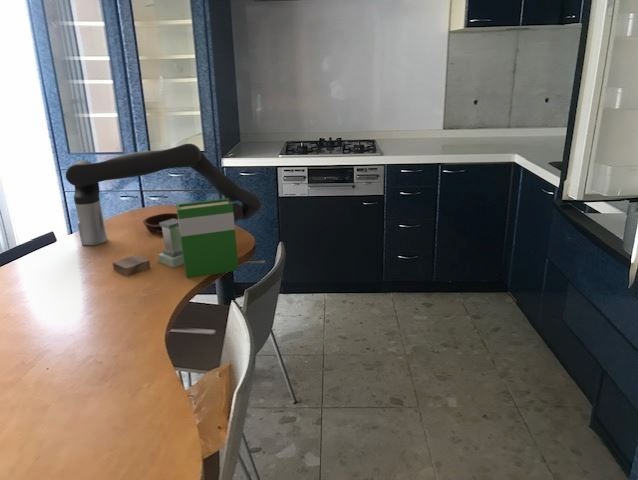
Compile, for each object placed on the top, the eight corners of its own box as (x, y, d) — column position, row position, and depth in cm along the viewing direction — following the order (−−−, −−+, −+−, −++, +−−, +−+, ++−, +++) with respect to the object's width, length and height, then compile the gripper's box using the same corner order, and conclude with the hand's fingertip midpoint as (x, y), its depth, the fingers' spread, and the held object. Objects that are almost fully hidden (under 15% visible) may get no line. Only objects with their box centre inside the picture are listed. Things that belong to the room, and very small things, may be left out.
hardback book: (235, 262, 183) (228, 198, 174) (238, 270, 176) (232, 203, 168) (185, 270, 178) (176, 204, 169) (186, 278, 171) (177, 210, 163)
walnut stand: (127, 276, 174) (126, 268, 173) (113, 270, 180) (112, 262, 179) (150, 268, 180) (149, 260, 179) (136, 262, 186) (135, 254, 185)
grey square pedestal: (173, 257, 181) (168, 225, 177) (163, 253, 185) (159, 222, 181) (187, 252, 185) (183, 221, 181) (177, 248, 189) (173, 218, 185)
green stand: (173, 267, 180) (172, 259, 179) (158, 261, 186) (157, 254, 185) (194, 259, 186) (193, 252, 185) (179, 254, 192) (178, 247, 191)
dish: (140, 239, 210) (138, 228, 208) (149, 223, 230) (147, 212, 228) (183, 236, 212) (181, 225, 210) (188, 220, 232) (187, 210, 231)
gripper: (205, 205, 200) (170, 216, 188) (229, 211, 191) (194, 222, 180) (208, 223, 202) (173, 235, 191) (231, 229, 194) (196, 242, 182)
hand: (183, 229), depth 185 cm, fingers open, 8 cm apart
